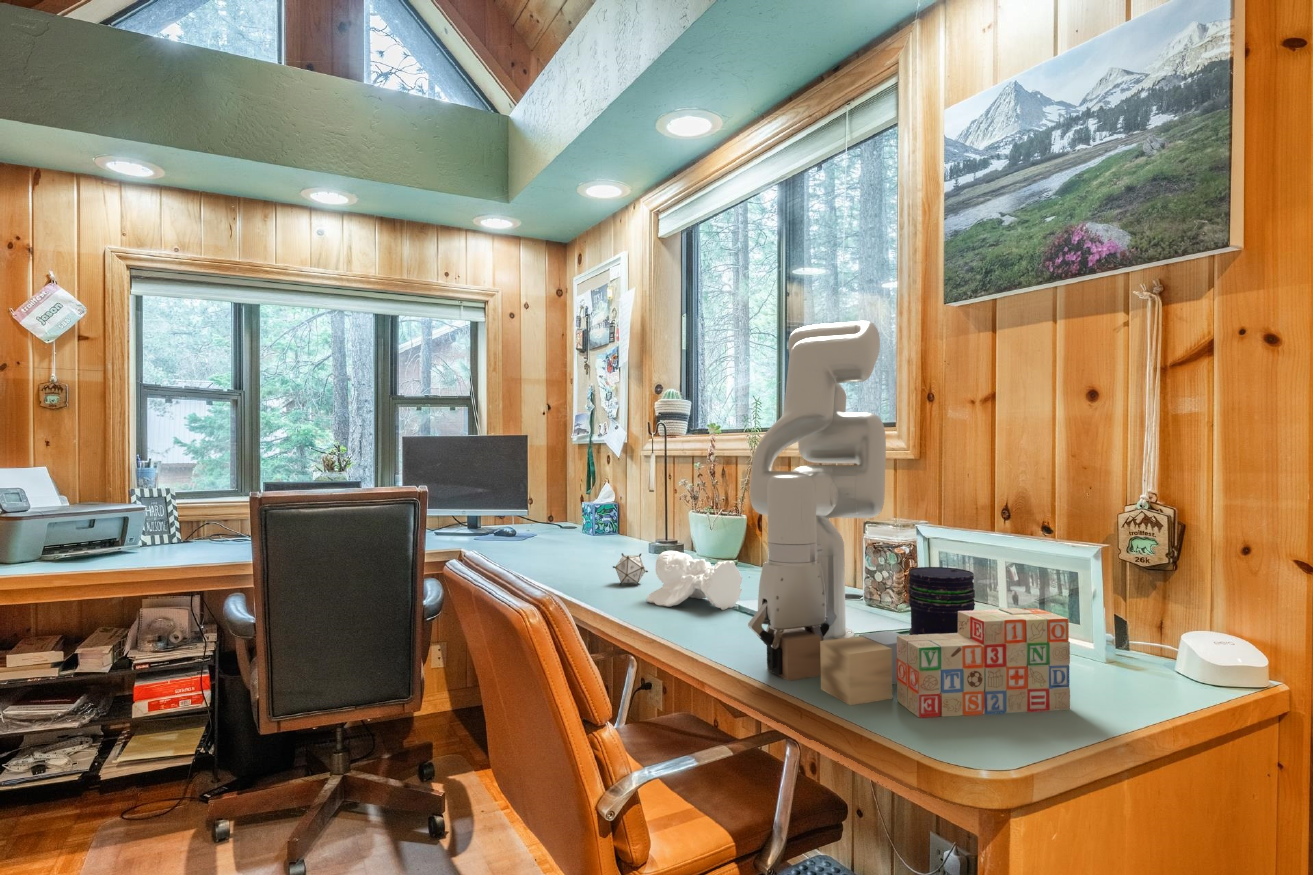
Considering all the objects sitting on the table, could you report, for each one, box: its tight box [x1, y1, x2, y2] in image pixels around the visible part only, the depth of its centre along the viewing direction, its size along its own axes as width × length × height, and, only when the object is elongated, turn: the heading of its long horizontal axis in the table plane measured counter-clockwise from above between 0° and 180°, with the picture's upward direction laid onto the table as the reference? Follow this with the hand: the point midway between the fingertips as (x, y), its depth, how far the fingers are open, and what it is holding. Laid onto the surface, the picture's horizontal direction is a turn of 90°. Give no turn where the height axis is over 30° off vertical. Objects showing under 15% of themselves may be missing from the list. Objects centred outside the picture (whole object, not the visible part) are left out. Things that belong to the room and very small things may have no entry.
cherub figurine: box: [646, 550, 743, 611], centre depth 160 cm, size 13×12×20 cm
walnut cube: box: [766, 628, 821, 681], centre depth 111 cm, size 6×6×6 cm
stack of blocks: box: [896, 607, 1071, 718], centre depth 96 cm, size 21×6×12 cm, turn 97°
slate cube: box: [858, 630, 902, 685], centre depth 109 cm, size 6×6×6 cm
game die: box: [612, 552, 649, 587], centre depth 184 cm, size 9×8×10 cm
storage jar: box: [907, 566, 976, 635], centre depth 113 cm, size 10×10×15 cm
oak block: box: [820, 635, 893, 706], centre depth 101 cm, size 7×7×7 cm
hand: (793, 668), depth 111 cm, fingers closed on walnut cube, 6 cm apart
